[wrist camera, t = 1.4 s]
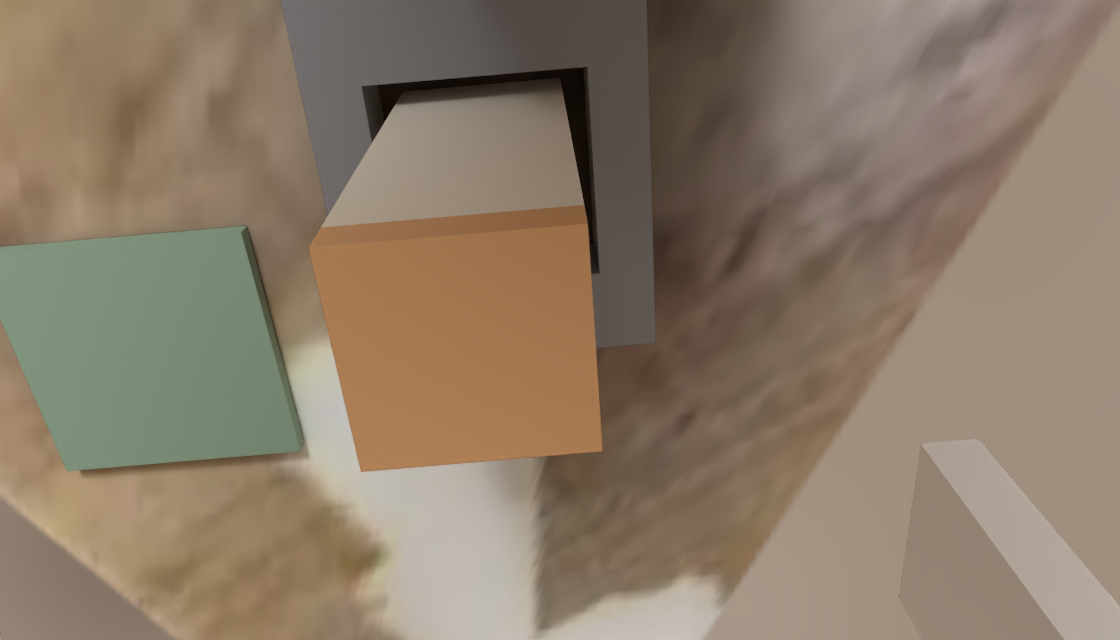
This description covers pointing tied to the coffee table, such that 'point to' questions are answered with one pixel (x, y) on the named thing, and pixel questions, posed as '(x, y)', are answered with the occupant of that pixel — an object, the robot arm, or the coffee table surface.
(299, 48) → the grey square frame
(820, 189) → the coffee table surface
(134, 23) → the coffee table surface
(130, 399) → the mat
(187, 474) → the coffee table surface
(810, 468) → the coffee table surface
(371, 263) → the plug
